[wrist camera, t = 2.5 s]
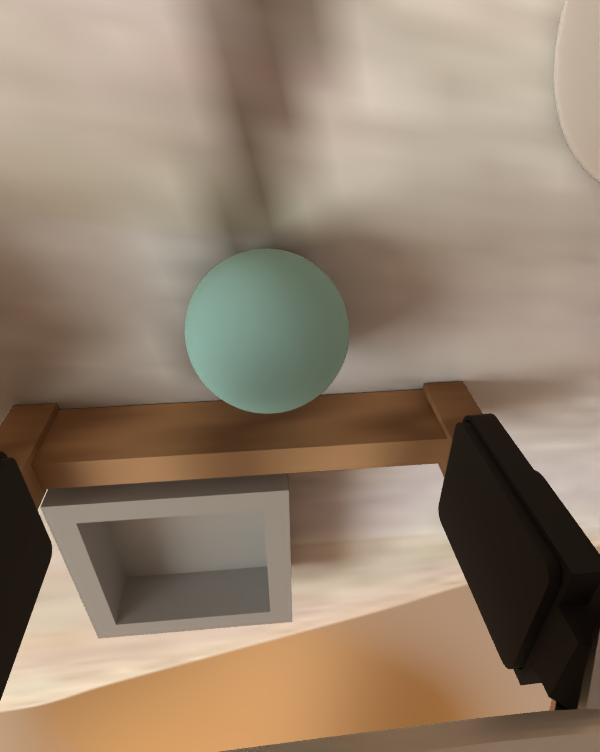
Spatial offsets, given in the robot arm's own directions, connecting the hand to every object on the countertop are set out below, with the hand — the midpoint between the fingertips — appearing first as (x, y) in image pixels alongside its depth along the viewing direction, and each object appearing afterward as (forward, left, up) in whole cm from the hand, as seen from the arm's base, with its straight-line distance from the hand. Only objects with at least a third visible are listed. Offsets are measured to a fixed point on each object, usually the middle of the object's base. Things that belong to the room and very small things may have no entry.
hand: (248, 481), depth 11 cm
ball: (-1, -1, -8) cm, 8 cm away
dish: (+3, +10, -8) cm, 14 cm away
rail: (0, +4, -8) cm, 9 cm away
